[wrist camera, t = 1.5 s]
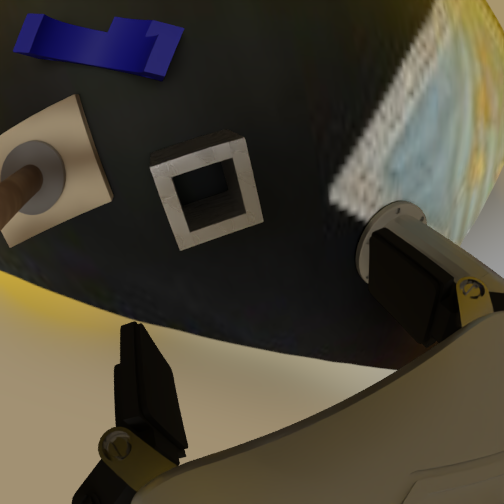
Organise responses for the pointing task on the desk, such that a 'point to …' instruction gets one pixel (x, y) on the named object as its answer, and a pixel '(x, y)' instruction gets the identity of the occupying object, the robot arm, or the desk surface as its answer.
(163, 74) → the cable clip
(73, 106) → the post board
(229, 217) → the sleeve
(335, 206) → the desk surface
